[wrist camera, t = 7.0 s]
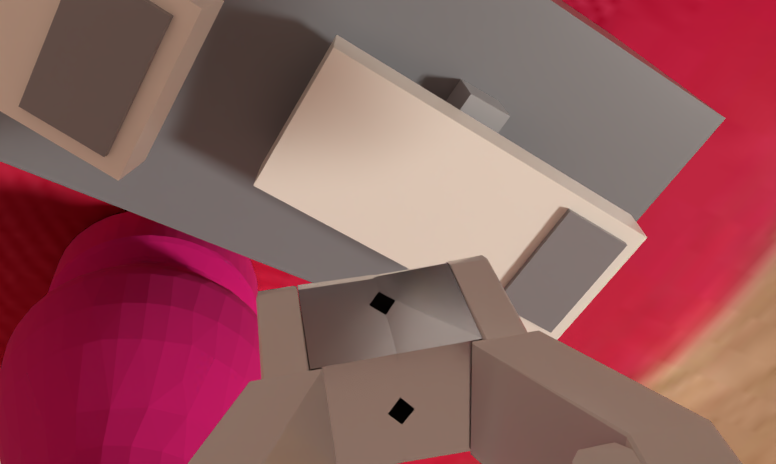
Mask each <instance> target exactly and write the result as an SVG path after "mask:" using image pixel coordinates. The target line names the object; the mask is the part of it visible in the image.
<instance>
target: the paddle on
mask: <svg viewBox="0 0 776 464" xmlns="http://www.w3.org/2000/svg"><path fill="white" fill-rule="evenodd" d="M223 3H224V1H223V0H0V111H1V112H2V113H4V114H6V115H8V116H9V117H11V118H13V119H14V120H16V121H18V122H19V123H21V124H23V125H25V126H26V127H28V128H30V129H31V130H33V131H35V132H36V133H38V134H40V135H42V136H43V137H45V138H47V139H48V140H50V141H52V142H53V143H55V144H57V145H58V146H60V147H62V148H64V149H65V150H67V151H69V152H70V153H72V154H74V155H75V156H77V157H79V158H81V159H82V160H84V161H86V162H87V163H89V164H91V165H92V166H94V167H96V168H98V169H99V170H101V171H103V172H104V173H106V174H108V175H109V176H111V177H113V178H115V179H116V180H118V181H119V180H120V179H121V178H123V177H124V176H125V175H127V174H128V173H129V172H131V171H132V170H133V169H135V168H136V167H137V166H138V165H140V164H141V163H142V162H144V161H145V159H146V157H147V155H148V153H149V151H150V149H151V147H152V145H153V143H154V141H155V139H156V137H157V135H158V133H159V131H160V129H161V127H162V125H163V123H164V121H165V119H166V117H167V115H168V113H169V111H170V109H171V107H172V105H173V103H174V101H175V99H176V97H177V95H178V93H179V91H180V89H181V87H182V85H183V83H184V81H185V79H186V77H187V75H188V73H189V71H190V69H191V67H192V65H193V63H194V61H195V59H196V57H197V55H198V53H199V51H200V49H201V47H202V45H203V43H204V41H205V39H206V37H207V35H208V33H209V31H210V29H211V27H212V25H213V23H214V21H215V19H216V17H217V15H218V13H219V11H220V9H221V7H222V5H223Z"/></svg>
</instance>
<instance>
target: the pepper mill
mask: <svg viewBox="0 0 776 464" xmlns="http://www.w3.org/2000/svg"><path fill="white" fill-rule="evenodd" d="M257 293H258V287H257V279H256V275H255V272H254V269H253V266H252V263H251V260H250V259H249V258H248V257H245V256H243V255H240V254H238V253H235V252H232V251H230V250H227V249H225V248H222V247H220V246H217V245H214V244H212V243H209V242H207V241H204V240H202V239H199V238H196V237H194V236H191V235H189V234H186V233H184V232H181V231H178V230H176V229H173V228H171V227H168V226H166V225H163V224H160V223H158V222H155V221H153V220H150V219H148V218H145V217H142V216H140V215H137V214H135V213H132V212H130V211H128V212H124V213H120V214H116V215H112V216H109V217H107V218H104V219H102V220H100V221H98V222H96V223H94V224H92V225H91V226H89V227H88V228H87V229H85V230H84V231H82V232H81V233H80V234H79V235H77V236H76V237H75V238H74V239H73V240H72V242H71V243H70V244H69V245H68V247H67V248H66V249H65V251H64V253H63V255H62V257H61V258H60V260H59V263H58V265H57V268H56V271H55V274H54V276H53V279H52V282H51V285H50V287H49V290H48V294H46V295H45V296H44V297H43V298H42V299H40V300H39V301H38V302H37V303H36V304H34V305H33V306H32V307H31V308H30V310H29V311H28V312H27V313H26V315H25V316H24V317H23V318H22V320H21V321H20V322H19V323H18V325H17V326H16V327H15V329H14V331H13V333H12V335H11V337H10V339H9V341H8V343H7V346H6V350H5V353H4V357H3V361H2V365H1V369H0V461H1V464H188V462H189V461H190V460H191V458H192V457H193V456H194V454H195V453H196V452H197V450H198V449H199V448H200V446H201V445H202V444H203V443H204V441H205V440H206V439H207V437H208V436H209V435H210V433H211V432H212V431H213V429H214V428H215V427H216V425H217V424H218V423H219V421H220V420H221V419H222V417H223V416H224V415H225V413H226V412H227V411H228V409H229V408H230V407H231V405H232V404H233V403H234V401H235V400H236V399H237V397H238V396H239V395H240V394H241V392H242V391H243V390H244V388H245V387H246V386H247V384H248V383H249V382H250V381H255V380H261V366H260V350H259V335H258V319H257V303H256V297H257Z"/></svg>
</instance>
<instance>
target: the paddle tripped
mask: <svg viewBox="0 0 776 464" xmlns="http://www.w3.org/2000/svg"><path fill="white" fill-rule="evenodd" d="M253 186H255V187H257V188H259V189H260V190H262V191H264V192H266V193H268V194H270V195H272V196H274V197H275V198H277V199H279V200H281V201H283V202H285V203H287V204H289V205H290V206H292V207H294V208H296V209H298V210H300V211H302V212H303V213H305V214H307V215H309V216H311V217H313V218H315V219H317V220H318V221H320V222H322V223H324V224H326V225H328V226H330V227H332V228H333V229H335V230H337V231H339V232H341V233H343V234H345V235H347V236H348V237H350V238H352V239H354V240H356V241H358V242H360V243H361V244H363V245H365V246H367V247H369V248H371V249H373V250H375V251H376V252H378V253H380V254H382V255H384V256H386V257H388V258H390V259H391V260H393V261H395V262H397V263H399V264H401V265H403V266H405V267H406V268H408V269H414V268H420V267H426V266H432V265H438V264H445V263H446V262H448V261H453V260H458V259H464V258H469V257H474V256H479V255H483V256H484V257H486V258H487V259H488V261H489V262H490V264H491V266H492V268H493V270H494V272H495V273H496V275H497V277H498V279H499V281H500V282H501V284H502V286H503V288H504V290H505V292H506V293H507V295H508V297H509V299H510V301H511V303H512V304H513V306H514V308H515V310H516V312H517V313H518V315H519V317H520V319H521V321H522V323H523V324H524V326H525V328H526V330H527V332H532V331H538V330H539V331H541V332H543V333H545V334H547V335H548V336H550V337H552V338H554V339H556V340H557V339H558V338H559V337H560V336H561V335H562V334H563V333H564V331H565V330H566V329H567V328H568V327H569V326H570V325H571V324H572V322H573V321H574V320H575V319H576V318H577V317H578V316H579V314H580V313H581V312H582V311H583V310H584V309H585V308H586V307H587V305H588V304H589V303H590V302H591V301H592V300H593V299H594V297H595V296H596V295H597V294H598V293H599V292H600V291H601V290H602V288H603V287H604V286H605V285H606V284H607V283H608V282H609V280H610V279H611V278H612V277H613V276H614V275H615V274H616V273H617V271H618V270H619V269H620V268H621V267H622V266H623V265H624V263H625V262H626V261H627V260H628V259H629V258H630V257H631V255H632V254H633V253H634V252H635V251H636V250H637V249H638V248H639V246H640V245H641V244H642V243H643V242H644V241H645V240H646V238H647V237H646V235H645V234H644V232H643V231H642V230H641V228H640V227H639V225H638V224H637V222H636V221H635V220H634V218H633V217H632V215H630V214H629V213H627V212H626V211H624V210H622V209H621V208H619V207H617V206H616V205H614V204H612V203H611V202H609V201H608V200H606V199H604V198H603V197H601V196H599V195H598V194H596V193H595V192H593V191H591V190H590V189H588V188H586V187H585V186H583V185H581V184H580V183H578V182H577V181H575V180H573V179H572V178H570V177H568V176H567V175H565V174H564V173H562V172H560V171H559V170H557V169H555V168H554V167H552V166H550V165H549V164H547V163H546V162H544V161H542V160H541V159H539V158H537V157H536V156H534V155H533V154H531V153H529V152H528V151H526V150H524V149H523V148H521V147H519V146H518V145H516V144H515V143H513V142H511V141H510V140H508V139H506V138H505V137H503V136H501V135H500V134H498V133H497V132H495V131H493V130H492V129H490V128H488V127H487V126H485V125H484V124H482V123H480V122H479V121H477V120H475V119H474V118H472V117H470V116H469V115H467V114H466V113H464V112H462V111H461V110H459V109H457V108H456V107H454V106H453V105H451V104H449V103H448V102H446V101H444V100H443V99H441V98H439V97H438V96H436V95H435V94H433V93H431V92H430V91H428V90H426V89H425V88H423V87H422V86H420V85H418V84H417V83H415V82H413V81H412V80H410V79H408V78H407V77H405V76H404V75H402V74H400V73H399V72H397V71H395V70H394V69H392V68H390V67H389V66H387V65H386V64H384V63H382V62H381V61H379V60H377V59H376V58H374V57H373V56H371V55H369V54H368V53H366V52H364V51H363V50H361V49H359V48H358V47H356V46H355V45H353V44H351V43H350V42H348V41H346V40H345V39H343V38H342V37H340V36H338V35H336V37H335V38H334V40H333V42H332V43H331V45H330V47H329V49H328V50H327V52H326V54H325V56H324V57H323V59H322V61H321V62H320V64H319V66H318V68H317V69H316V71H315V73H314V75H313V76H312V78H311V80H310V81H309V83H308V85H307V87H306V88H305V90H304V92H303V94H302V95H301V97H300V99H299V101H298V102H297V104H296V106H295V107H294V109H293V111H292V113H291V114H290V116H289V118H288V120H287V121H286V123H285V125H284V126H283V128H282V130H281V132H280V133H279V135H278V137H277V139H276V140H275V142H274V144H273V146H272V147H271V149H270V151H269V152H268V154H267V156H266V158H265V159H264V161H263V163H262V165H261V167H260V169H259V172H258V175H257V177H256V180H255V182H254V185H253Z"/></svg>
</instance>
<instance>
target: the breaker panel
mask: <svg viewBox="0 0 776 464" xmlns="http://www.w3.org/2000/svg"><path fill="white" fill-rule="evenodd" d="M223 1H224V3H223V5H222V7H221V9H220V11H219V13H218V15H217V17H216V19H215V21H214V23H213V25H212V27H211V29H210V31H209V33H208V35H207V37H206V39H205V41H204V43H203V45H202V47H201V49H200V51H199V53H198V55H197V57H196V59H195V61H194V63H193V65H192V67H191V69H190V71H189V73H188V75H187V77H186V79H185V81H184V83H183V85H182V87H181V89H180V91H179V93H178V95H177V97H176V99H175V101H174V103H173V105H172V107H171V109H170V111H169V113H168V115H167V117H166V119H165V121H164V123H163V125H162V127H161V129H160V131H159V133H158V135H157V137H156V139H155V141H154V143H153V145H152V147H151V149H150V151H149V153H148V155H147V157H146V159H145V161H144V162H142V163H141V164H140V165H138V166H137V167H136V168H135V169H133V170H132V171H131V172H129V173H128V174H127V175H125V176H124V177H123V178H121V179H120V180H119V181H118V180H116V179H115V178H113V177H111V176H109V175H108V174H106V173H104V172H103V171H101V170H99V169H98V168H96V167H94V166H92V165H91V164H89V163H87V162H86V161H84V160H82V159H81V158H79V157H77V156H75V155H74V154H72V153H70V152H69V151H67V150H65V149H64V148H62V147H60V146H58V145H57V144H55V143H53V142H52V141H50V140H48V139H47V138H45V137H43V136H42V135H40V134H38V133H36V132H35V131H33V130H31V129H30V128H28V127H26V126H25V125H23V124H21V123H19V122H18V121H16V120H14V119H13V118H11V117H9V116H8V115H6V114H4V113H2V112H1V111H0V161H1V162H4V163H6V164H9V165H11V166H14V167H16V168H19V169H22V170H24V171H27V172H29V173H32V174H34V175H37V176H40V177H42V178H45V179H47V180H50V181H52V182H55V183H58V184H60V185H63V186H65V187H68V188H70V189H73V190H76V191H78V192H81V193H83V194H86V195H88V196H91V197H94V198H96V199H99V200H101V201H104V202H106V203H109V204H112V205H114V206H117V207H119V208H122V209H124V210H127V211H130V212H132V213H135V214H137V215H140V216H142V217H145V218H148V219H150V220H153V221H155V222H158V223H160V224H163V225H166V226H168V227H171V228H173V229H176V230H178V231H181V232H184V233H186V234H189V235H191V236H194V237H196V238H199V239H202V240H204V241H207V242H209V243H212V244H214V245H217V246H220V247H222V248H225V249H227V250H230V251H232V252H235V253H238V254H240V255H243V256H245V257H248V258H251V259H253V260H256V261H258V262H261V263H263V264H266V265H269V266H271V267H274V268H276V269H279V270H281V271H284V272H287V273H289V274H292V275H294V276H297V277H299V278H302V279H305V280H307V281H310V282H312V283H317V282H325V281H332V280H339V279H346V278H353V277H360V276H367V275H378V274H384V273H390V272H396V271H402V270H408V268H406V267H405V266H403V265H401V264H399V263H397V262H395V261H393V260H391V259H390V258H388V257H386V256H384V255H382V254H380V253H378V252H376V251H375V250H373V249H371V248H369V247H367V246H365V245H363V244H361V243H360V242H358V241H356V240H354V239H352V238H350V237H348V236H347V235H345V234H343V233H341V232H339V231H337V230H335V229H333V228H332V227H330V226H328V225H326V224H324V223H322V222H320V221H318V220H317V219H315V218H313V217H311V216H309V215H307V214H305V213H303V212H302V211H300V210H298V209H296V208H294V207H292V206H290V205H289V204H287V203H285V202H283V201H281V200H279V199H277V198H275V197H274V196H272V195H270V194H268V193H266V192H264V191H262V190H260V189H259V188H257V187H255V186H253V185H254V182H255V180H256V177H257V175H258V172H259V169H260V167H261V165H262V163H263V161H264V159H265V158H266V156H267V154H268V152H269V151H270V149H271V147H272V146H273V144H274V142H275V140H276V139H277V137H278V135H279V133H280V132H281V130H282V128H283V126H284V125H285V123H286V121H287V120H288V118H289V116H290V114H291V113H292V111H293V109H294V107H295V106H296V104H297V102H298V101H299V99H300V97H301V95H302V94H303V92H304V90H305V88H306V87H307V85H308V83H309V81H310V80H311V78H312V76H313V75H314V73H315V71H316V69H317V68H318V66H319V64H320V62H321V61H322V59H323V57H324V56H325V54H326V52H327V50H328V49H329V47H330V45H331V43H332V42H333V40H334V38H335V37H336V35H338V36H340V37H342V38H343V39H345V40H346V41H348V42H350V43H351V44H353V45H355V46H356V47H358V48H359V49H361V50H363V51H364V52H366V53H368V54H369V55H371V56H373V57H374V58H376V59H377V60H379V61H381V62H382V63H384V64H386V65H387V66H389V67H390V68H392V69H394V70H395V71H397V72H399V73H400V74H402V75H404V76H405V77H407V78H408V79H410V80H412V81H413V82H415V83H417V84H418V85H420V86H422V87H423V88H425V89H426V90H428V91H430V92H431V93H433V94H435V95H436V96H438V97H439V98H441V99H443V100H444V101H446V102H448V103H449V104H451V105H453V106H454V107H456V108H457V109H459V110H461V111H462V112H464V113H466V114H467V115H469V116H470V117H472V118H474V119H475V120H477V121H479V122H480V123H482V124H484V125H485V126H487V127H488V128H490V129H492V130H493V131H495V132H497V133H498V134H500V135H501V136H503V137H505V138H506V139H508V140H510V141H511V142H513V143H515V144H516V145H518V146H519V147H521V148H523V149H524V150H526V151H528V152H529V153H531V154H533V155H534V156H536V157H537V158H539V159H541V160H542V161H544V162H546V163H547V164H549V165H550V166H552V167H554V168H555V169H557V170H559V171H560V172H562V173H564V174H565V175H567V176H568V177H570V178H572V179H573V180H575V181H577V182H578V183H580V184H581V185H583V186H585V187H586V188H588V189H590V190H591V191H593V192H595V193H596V194H598V195H599V196H601V197H603V198H604V199H606V200H608V201H609V202H611V203H612V204H614V205H616V206H617V207H619V208H621V209H622V210H624V211H626V212H627V213H629V214H630V215H632V217H633V218H634V220H635V221H637V220H638V219H639V218H640V217H641V216H642V214H643V213H644V212H645V211H646V210H647V209H648V207H649V206H650V205H651V204H652V203H653V202H654V200H655V199H656V198H657V197H658V196H659V195H660V194H661V192H662V191H663V190H664V189H665V188H666V187H667V185H668V184H669V183H670V182H671V181H672V180H673V178H674V177H675V176H676V175H677V174H678V173H679V172H680V170H681V169H682V168H683V167H684V166H685V165H686V163H687V162H688V161H689V160H690V159H691V158H692V157H693V155H694V154H695V153H696V152H697V151H698V150H699V148H700V147H701V146H702V145H703V144H704V143H705V141H706V140H707V139H708V138H709V137H710V136H711V135H712V133H713V132H714V131H715V130H716V129H717V128H718V126H719V125H720V124H721V123H722V122H723V121H724V119H725V118H724V117H723V116H721V115H720V114H719V113H717V112H716V111H715V110H713V109H712V108H711V107H709V106H708V105H707V104H705V103H704V102H702V101H701V100H700V99H698V98H697V97H696V96H694V95H693V94H692V93H690V92H689V91H687V90H686V89H685V88H683V87H682V86H681V85H679V84H678V83H677V82H675V81H674V80H673V79H671V78H670V77H668V76H667V75H666V74H664V73H663V72H662V71H660V70H659V69H658V68H656V67H655V66H654V65H652V64H651V63H649V62H648V61H647V60H645V59H644V58H643V57H641V56H640V55H639V54H637V53H636V52H635V51H633V50H632V49H630V48H629V47H628V46H626V45H625V44H624V43H622V42H621V41H620V40H618V39H617V38H615V37H614V36H613V35H611V34H610V33H608V32H607V31H605V30H604V29H603V28H601V27H600V26H598V25H597V24H595V23H594V22H592V21H591V20H589V19H588V18H586V17H585V16H583V15H582V14H581V13H579V12H578V11H576V10H575V9H573V8H572V7H570V6H569V5H567V4H566V3H564V2H563V1H562V0H223Z"/></svg>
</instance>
